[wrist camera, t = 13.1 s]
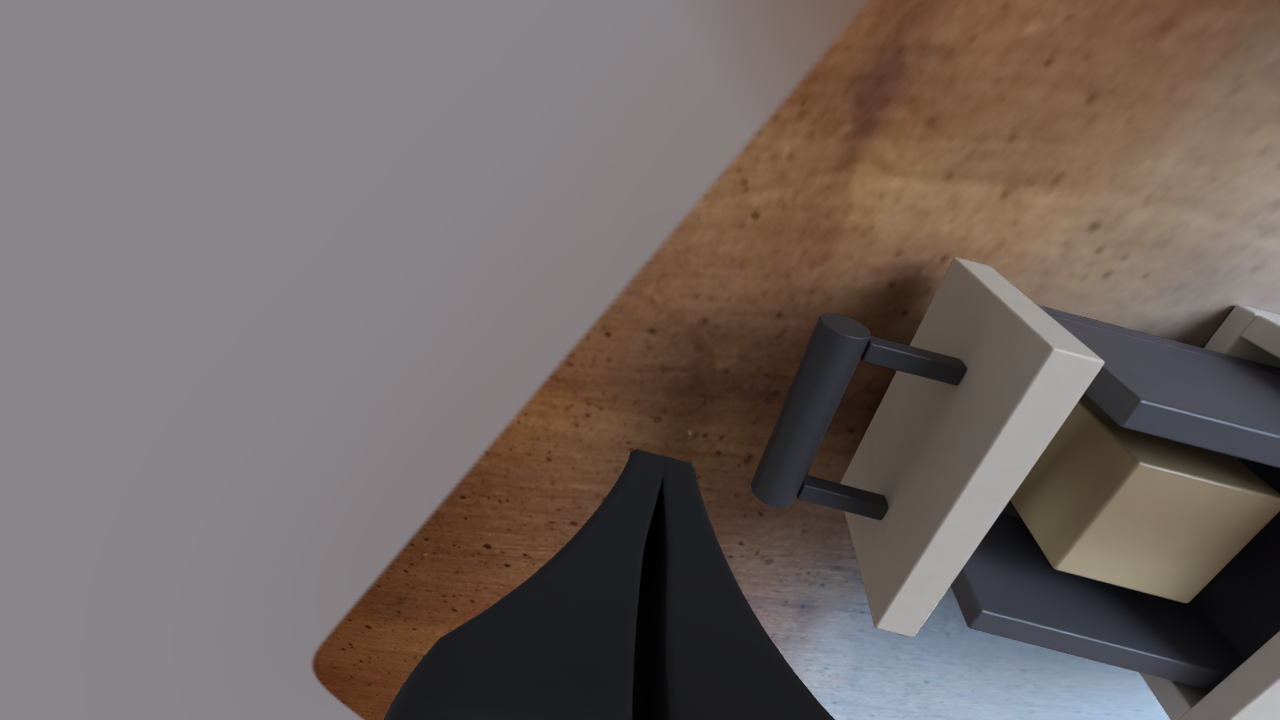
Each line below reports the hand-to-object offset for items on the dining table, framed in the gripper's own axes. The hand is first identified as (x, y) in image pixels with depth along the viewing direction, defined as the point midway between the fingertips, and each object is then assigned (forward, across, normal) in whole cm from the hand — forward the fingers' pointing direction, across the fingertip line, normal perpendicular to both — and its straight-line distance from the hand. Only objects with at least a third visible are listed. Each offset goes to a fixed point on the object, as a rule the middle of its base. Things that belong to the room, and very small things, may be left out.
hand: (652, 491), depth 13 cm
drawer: (+9, -11, 0) cm, 14 cm away
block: (+7, -14, 0) cm, 16 cm away
